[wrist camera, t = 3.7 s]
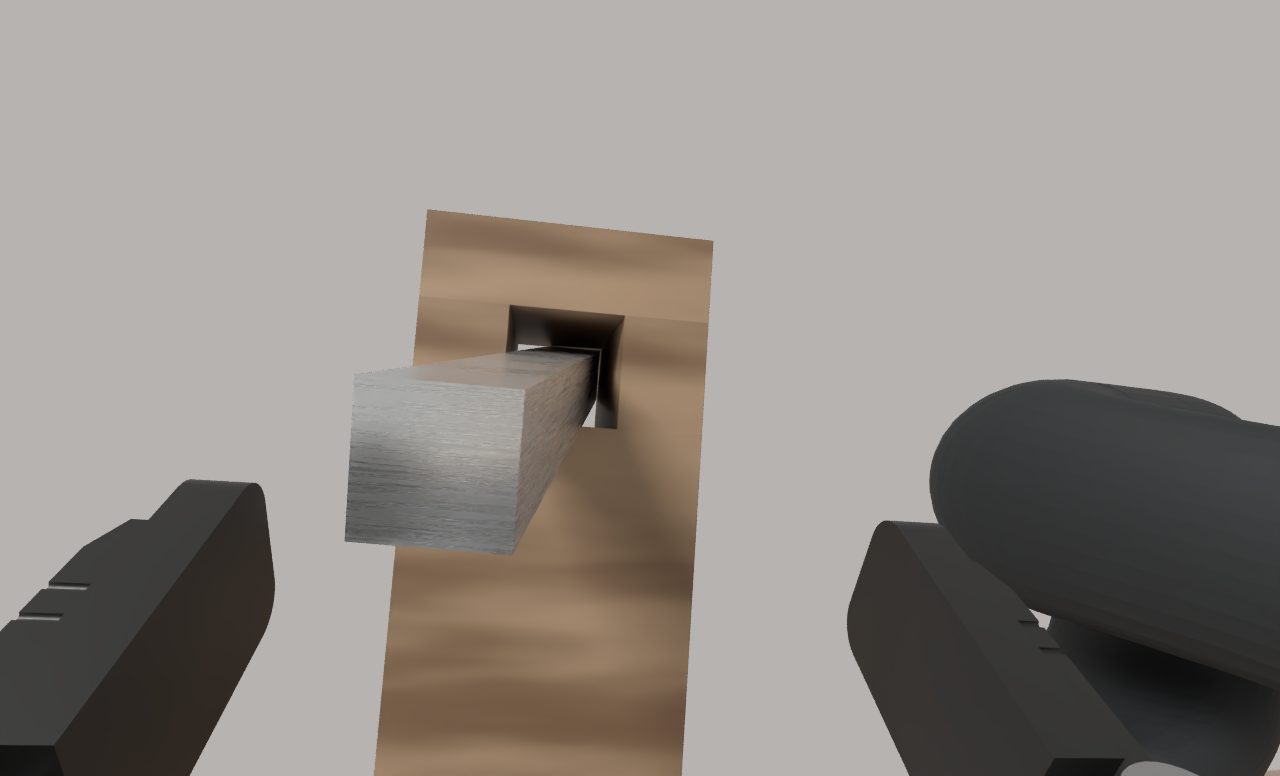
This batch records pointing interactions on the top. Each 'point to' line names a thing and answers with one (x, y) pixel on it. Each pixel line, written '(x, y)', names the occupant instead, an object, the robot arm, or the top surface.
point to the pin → (463, 446)
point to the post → (561, 517)
